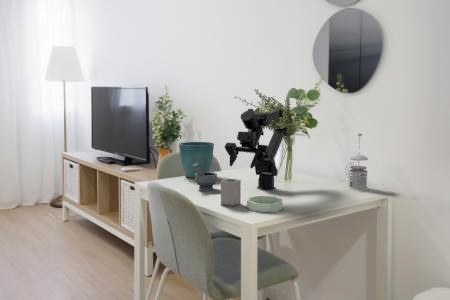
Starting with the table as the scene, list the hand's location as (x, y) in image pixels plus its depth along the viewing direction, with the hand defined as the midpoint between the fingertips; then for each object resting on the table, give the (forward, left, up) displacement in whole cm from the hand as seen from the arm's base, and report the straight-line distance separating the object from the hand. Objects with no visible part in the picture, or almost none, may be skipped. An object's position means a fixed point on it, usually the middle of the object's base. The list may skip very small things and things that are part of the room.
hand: (240, 166), depth 181 cm
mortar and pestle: (+2, -25, -14) cm, 29 cm away
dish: (0, +15, -13) cm, 20 cm away
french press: (-56, +11, -14) cm, 59 cm away
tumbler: (+8, +4, -13) cm, 16 cm away
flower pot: (-11, -54, -14) cm, 57 cm away
